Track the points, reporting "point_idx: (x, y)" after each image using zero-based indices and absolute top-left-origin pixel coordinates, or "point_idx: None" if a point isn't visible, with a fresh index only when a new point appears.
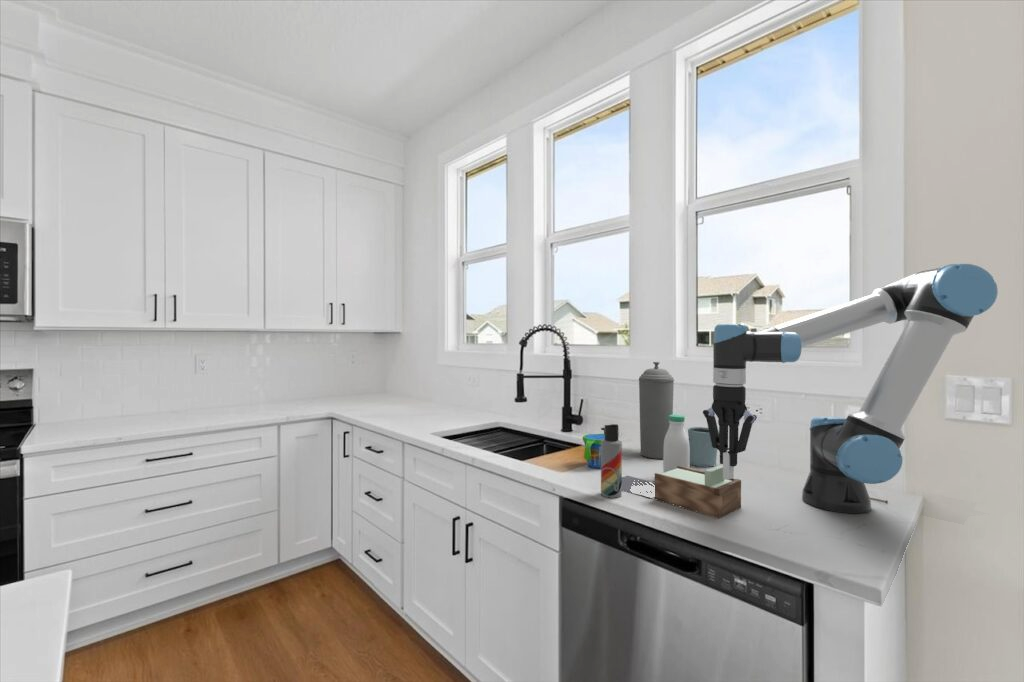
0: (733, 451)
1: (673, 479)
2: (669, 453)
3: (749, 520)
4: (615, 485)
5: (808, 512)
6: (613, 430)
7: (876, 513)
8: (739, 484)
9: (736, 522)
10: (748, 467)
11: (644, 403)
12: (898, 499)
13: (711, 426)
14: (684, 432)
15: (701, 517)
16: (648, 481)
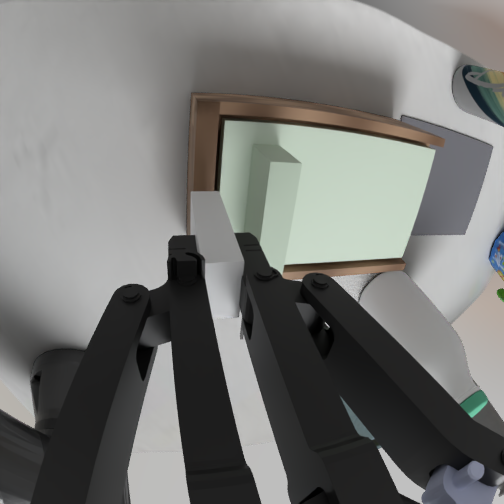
0: (170, 281)
1: (388, 124)
2: (434, 314)
3: (119, 152)
4: (479, 75)
5: (73, 317)
6: None
7: (28, 379)
8: None
9: (137, 105)
10: None
11: (494, 416)
12: None
13: (412, 390)
14: None
15: (235, 63)
16: (430, 232)
